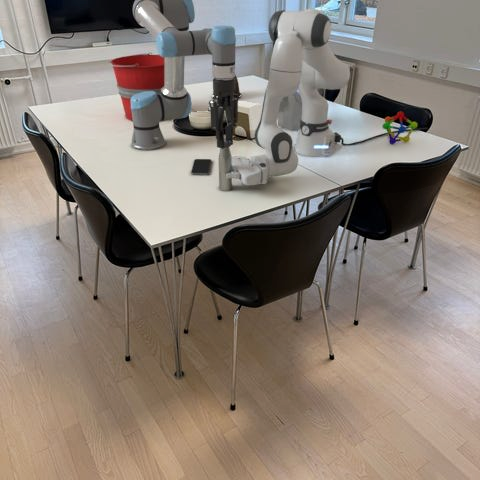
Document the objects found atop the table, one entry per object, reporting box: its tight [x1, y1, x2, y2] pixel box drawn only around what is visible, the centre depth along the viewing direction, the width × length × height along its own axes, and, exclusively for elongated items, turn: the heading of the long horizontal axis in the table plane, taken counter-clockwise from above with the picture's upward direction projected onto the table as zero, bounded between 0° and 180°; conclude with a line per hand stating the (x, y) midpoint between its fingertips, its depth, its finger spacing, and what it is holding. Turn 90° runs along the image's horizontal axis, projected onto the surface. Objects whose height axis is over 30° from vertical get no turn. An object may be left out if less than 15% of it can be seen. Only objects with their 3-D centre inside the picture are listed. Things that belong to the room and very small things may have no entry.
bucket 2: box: [277, 88, 326, 131], centre depth 226 cm, size 30×30×28 cm
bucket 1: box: [107, 51, 164, 122], centre depth 239 cm, size 35×35×30 cm
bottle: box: [218, 147, 233, 192], centre depth 162 cm, size 5×5×18 cm
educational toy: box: [382, 110, 418, 145], centre depth 207 cm, size 16×13×15 cm
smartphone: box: [190, 158, 212, 176], centre depth 184 cm, size 7×1×15 cm
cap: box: [224, 137, 232, 148], centre depth 158 cm, size 4×4×2 cm
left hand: (224, 145), depth 158 cm, fingers closed on cap, 4 cm apart
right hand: (223, 172), depth 164 cm, fingers closed on bottle, 5 cm apart
